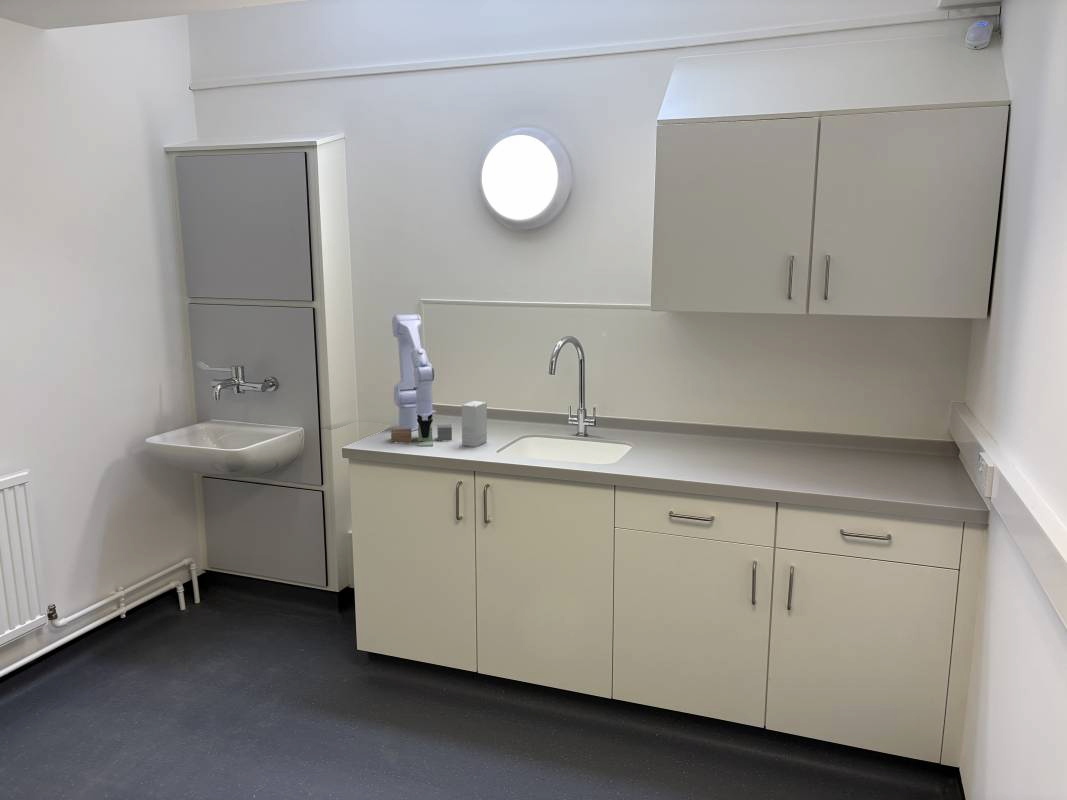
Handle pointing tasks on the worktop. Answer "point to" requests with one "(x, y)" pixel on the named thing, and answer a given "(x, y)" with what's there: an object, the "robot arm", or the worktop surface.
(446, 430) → the charcoal cube
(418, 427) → the sage cube
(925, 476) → the worktop surface
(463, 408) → the skincare box
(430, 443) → the card
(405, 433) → the walnut base
